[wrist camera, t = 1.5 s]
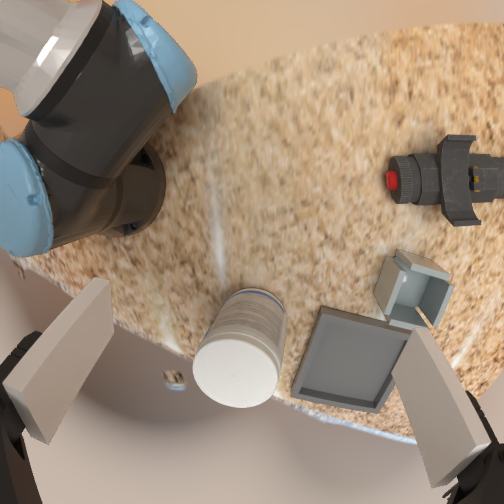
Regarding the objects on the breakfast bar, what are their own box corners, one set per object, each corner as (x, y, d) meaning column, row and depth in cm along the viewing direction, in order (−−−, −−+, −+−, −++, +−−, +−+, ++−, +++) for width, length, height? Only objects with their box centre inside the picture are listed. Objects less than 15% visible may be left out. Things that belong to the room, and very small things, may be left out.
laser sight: (514, 209, 35) (553, 220, 26) (384, 216, 40) (406, 230, 30) (510, 144, 33) (550, 142, 24) (378, 143, 38) (399, 134, 28)
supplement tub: (213, 294, 46) (175, 344, 32) (277, 278, 44) (262, 327, 30) (235, 351, 48) (209, 413, 34) (296, 338, 46) (289, 403, 31)
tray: (291, 387, 48) (290, 396, 45) (321, 305, 44) (322, 312, 41) (376, 404, 46) (378, 413, 44) (414, 328, 42) (419, 336, 40)
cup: (370, 300, 42) (380, 322, 36) (389, 246, 40) (403, 260, 33) (418, 313, 42) (433, 335, 35) (438, 261, 39) (458, 277, 33)
